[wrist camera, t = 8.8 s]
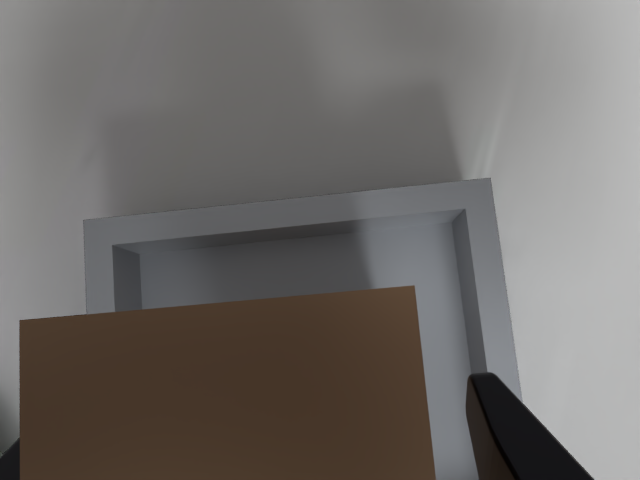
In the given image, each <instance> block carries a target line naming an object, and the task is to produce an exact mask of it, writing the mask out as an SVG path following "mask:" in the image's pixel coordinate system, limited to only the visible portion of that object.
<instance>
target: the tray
mask: <svg viewBox="0 0 640 480" xmlns="http://www.w3.org/2000/svg"><path fill="white" fill-rule="evenodd" d="M83 224H84V252H85V281H86V310H87V314H97V313H108V312H119V311H130V310H142V309H153V308H164V307H175V306H187V305H198V304H209V303H220V302H232V301H243V300H254V299H266V298H277V297H288V296H299V295H311V294H322V293H333V292H344V291H356V290H367V289H378V288H389V287H401V286H412V285H415V293H416V302H417V311H418V320H419V329H420V338H421V347H422V356H423V365H424V374H425V384H426V393H427V402H428V411H429V420H430V429H431V438H432V447H433V456H434V465H435V474H436V480H479V477H478V472H477V467H476V462H475V457H474V452H473V447H472V442H471V437H470V432H469V428H468V423H467V417H466V408H465V404H466V391H467V379H468V377H469V375H470V374H473V373H484V372H492V373H494V374H496V375H497V376H498V377H499V378H500V379H501V380H502V381H503V383H504V384H505V385H506V386H507V387H508V388H509V389H510V390H511V391H512V392H513V393H514V394H515V395H516V396H517V398H518V399H519V400H520V401H521V402H522V395H521V388H520V381H519V374H518V367H517V360H516V353H515V346H514V339H513V332H512V325H511V318H510V311H509V304H508V297H507V290H506V283H505V276H504V269H503V262H502V255H501V248H500V241H499V234H498V227H497V220H496V213H495V206H494V198H493V191H492V184H491V178H483V179H473V180H464V181H454V182H444V183H435V184H425V185H416V186H406V187H396V188H387V189H377V190H368V191H358V192H348V193H339V194H329V195H319V196H310V197H300V198H291V199H281V200H271V201H262V202H252V203H242V204H233V205H223V206H214V207H204V208H194V209H185V210H175V211H165V212H156V213H146V214H137V215H127V216H117V217H108V218H98V219H89V220H83ZM522 403H523V402H522Z"/></svg>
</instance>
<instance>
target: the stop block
mask: <svg viewBox="0 0 640 480" xmlns="http://www.w3.org/2000/svg"><path fill="white" fill-rule="evenodd" d="M20 480H436V474H435V465H434V456H433V447H432V438H431V429H430V420H429V411H428V402H427V393H426V384H425V374H424V365H423V356H422V347H421V338H420V329H419V320H418V311H417V302H416V293H415V285H412V286H401V287H389V288H378V289H367V290H356V291H344V292H333V293H322V294H311V295H299V296H288V297H277V298H266V299H254V300H243V301H232V302H220V303H209V304H198V305H187V306H175V307H164V308H153V309H142V310H130V311H119V312H108V313H97V314H85V315H74V316H63V317H52V318H40V319H29V320H20Z"/></svg>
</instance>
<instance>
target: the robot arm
mask: <svg viewBox="0 0 640 480" xmlns="http://www.w3.org/2000/svg"><path fill="white" fill-rule="evenodd" d="M465 408H466V417H467V423H468V428H469V432H470V437H471V442H472V447H473V452H474V457H475V462H476V467H477V472H478V477H479V480H594V479H593V478H592V477H591V475H590V474H589V473H588V472H587V471H586V470H585V469H584V468H583V467H582V466H581V465H580V464H579V463H578V462H577V461H576V459H575V458H574V457H573V456H572V455H571V454H570V453H569V452H568V451H567V450H566V449H565V448H564V447H563V446H562V445H561V443H560V442H559V441H558V440H557V439H556V438H555V437H554V436H553V435H552V434H551V433H550V432H549V431H548V430H547V428H546V427H545V426H544V425H543V424H542V423H541V422H540V421H539V420H538V419H537V418H536V417H535V416H534V415H533V414H532V412H531V411H530V410H529V409H528V408H527V407H526V406H525V405H524V404H523V403H522V402H521V401H520V400H519V399H518V398H517V396H516V395H515V394H514V393H513V392H512V391H511V390H510V389H509V388H508V387H507V386H506V385H505V384H504V383H503V381H502V380H501V379H500V378H499V377H498V376H497V375H496V374H494V373H492V372H484V373H473V374H470V375H469V377H468V379H467V391H466V404H465ZM0 480H20V437H19V438H18V439H17V440H16V441H15V443H14V444H13V445H12V446H11V447H10V448H9V449H8V450H7V451H6V452H5V453H4V454H3V455H2V456H1V457H0Z"/></svg>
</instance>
